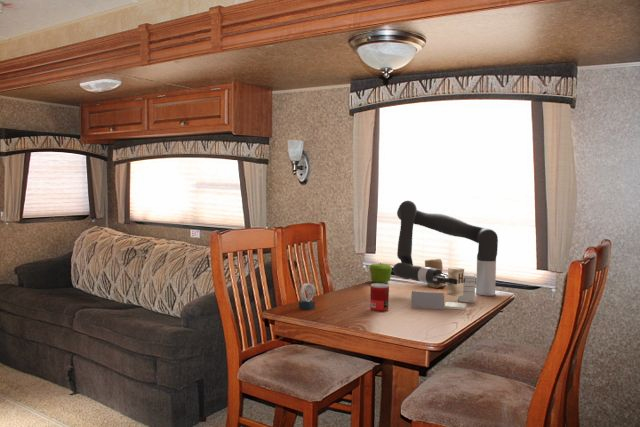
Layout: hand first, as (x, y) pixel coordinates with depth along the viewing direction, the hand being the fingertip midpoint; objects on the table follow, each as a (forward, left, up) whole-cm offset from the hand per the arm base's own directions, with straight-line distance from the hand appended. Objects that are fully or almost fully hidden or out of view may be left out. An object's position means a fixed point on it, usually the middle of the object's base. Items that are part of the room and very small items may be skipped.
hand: (460, 281), depth 232 cm
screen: (+6, -14, -12) cm, 19 cm away
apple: (-47, -47, -12) cm, 68 cm away
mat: (-1, -2, -12) cm, 12 cm away
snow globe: (+28, -63, -12) cm, 70 cm away
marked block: (-1, -2, -7) cm, 7 cm away
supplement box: (-17, +1, -12) cm, 21 cm away
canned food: (+18, -33, -12) cm, 39 cm away
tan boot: (-50, -18, -12) cm, 55 cm away
